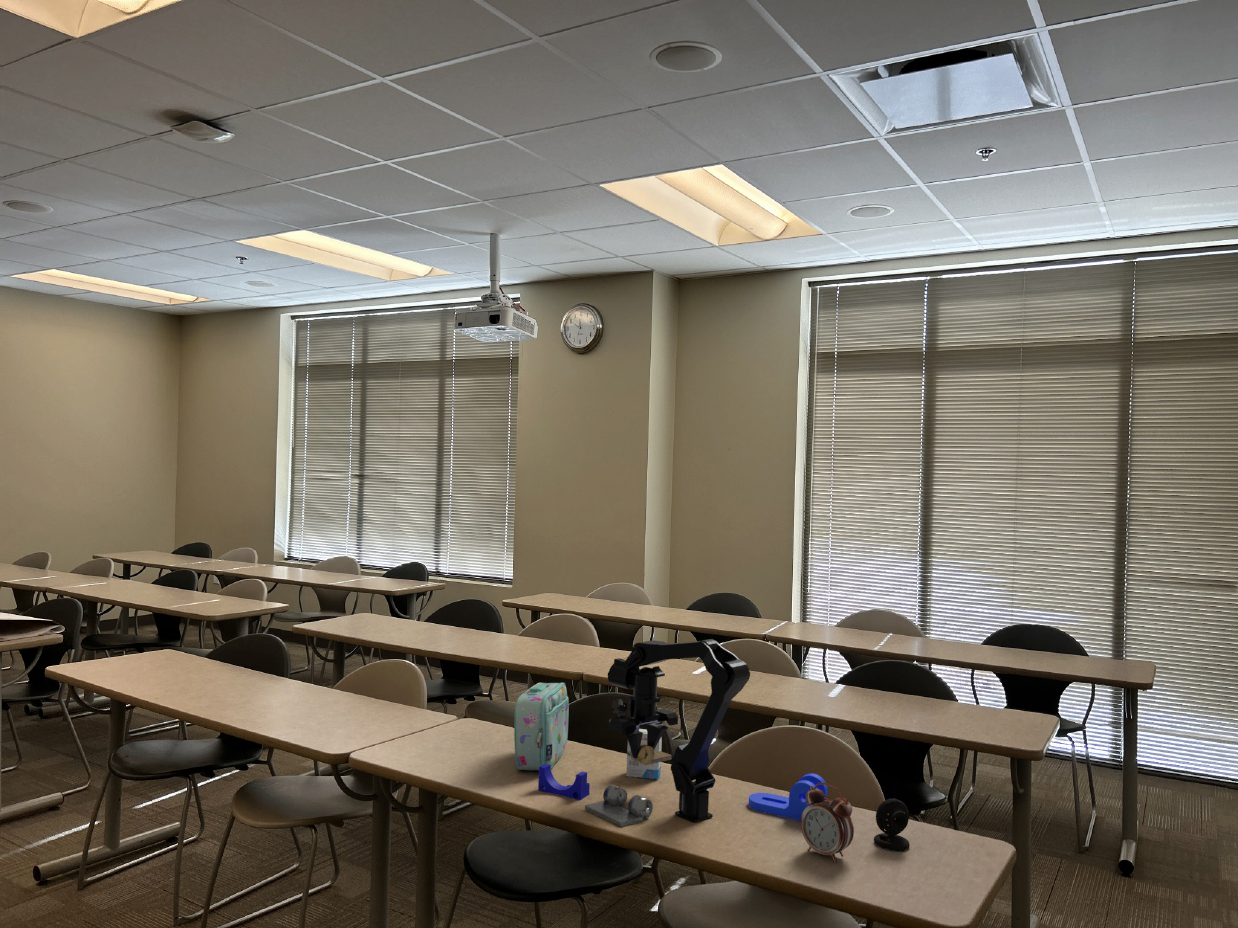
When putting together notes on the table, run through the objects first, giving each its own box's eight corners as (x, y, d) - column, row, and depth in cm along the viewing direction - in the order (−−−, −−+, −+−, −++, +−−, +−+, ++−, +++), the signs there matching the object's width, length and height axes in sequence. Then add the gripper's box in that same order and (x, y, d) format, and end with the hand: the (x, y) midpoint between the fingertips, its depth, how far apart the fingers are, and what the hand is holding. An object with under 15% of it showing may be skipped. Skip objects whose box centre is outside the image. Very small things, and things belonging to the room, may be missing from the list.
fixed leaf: (655, 818, 201) (656, 798, 201) (623, 827, 194) (624, 807, 194) (614, 800, 212) (615, 781, 212) (583, 808, 205) (583, 789, 205)
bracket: (826, 814, 209) (828, 776, 210) (817, 824, 202) (818, 785, 202) (755, 798, 218) (756, 762, 218) (743, 808, 210) (745, 770, 211)
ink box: (661, 774, 233) (663, 730, 233) (657, 780, 228) (659, 735, 228) (629, 770, 235) (631, 726, 235) (625, 776, 230) (627, 731, 230)
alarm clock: (797, 850, 186) (800, 779, 187) (810, 844, 190) (812, 774, 190) (843, 867, 179) (845, 793, 179) (855, 860, 182) (857, 788, 182)
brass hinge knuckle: (671, 759, 219) (672, 741, 219) (640, 766, 212) (641, 747, 212) (660, 755, 222) (661, 737, 222) (629, 762, 215) (630, 743, 215)
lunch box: (547, 779, 225) (551, 695, 226) (509, 775, 226) (513, 692, 227) (569, 750, 251) (573, 675, 252) (535, 747, 253) (538, 672, 254)
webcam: (885, 853, 187) (887, 805, 187) (866, 839, 194) (867, 793, 194) (917, 850, 189) (918, 803, 189) (896, 837, 196) (898, 792, 197)
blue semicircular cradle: (589, 795, 215) (590, 770, 215) (580, 800, 211) (581, 775, 211) (547, 786, 220) (548, 762, 221) (538, 791, 216) (539, 766, 217)
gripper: (650, 682, 227) (647, 742, 227) (595, 690, 215) (592, 754, 215) (680, 690, 219) (677, 753, 219) (625, 699, 207) (622, 766, 206)
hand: (642, 756), depth 215 cm, fingers closed on brass hinge knuckle, 4 cm apart
